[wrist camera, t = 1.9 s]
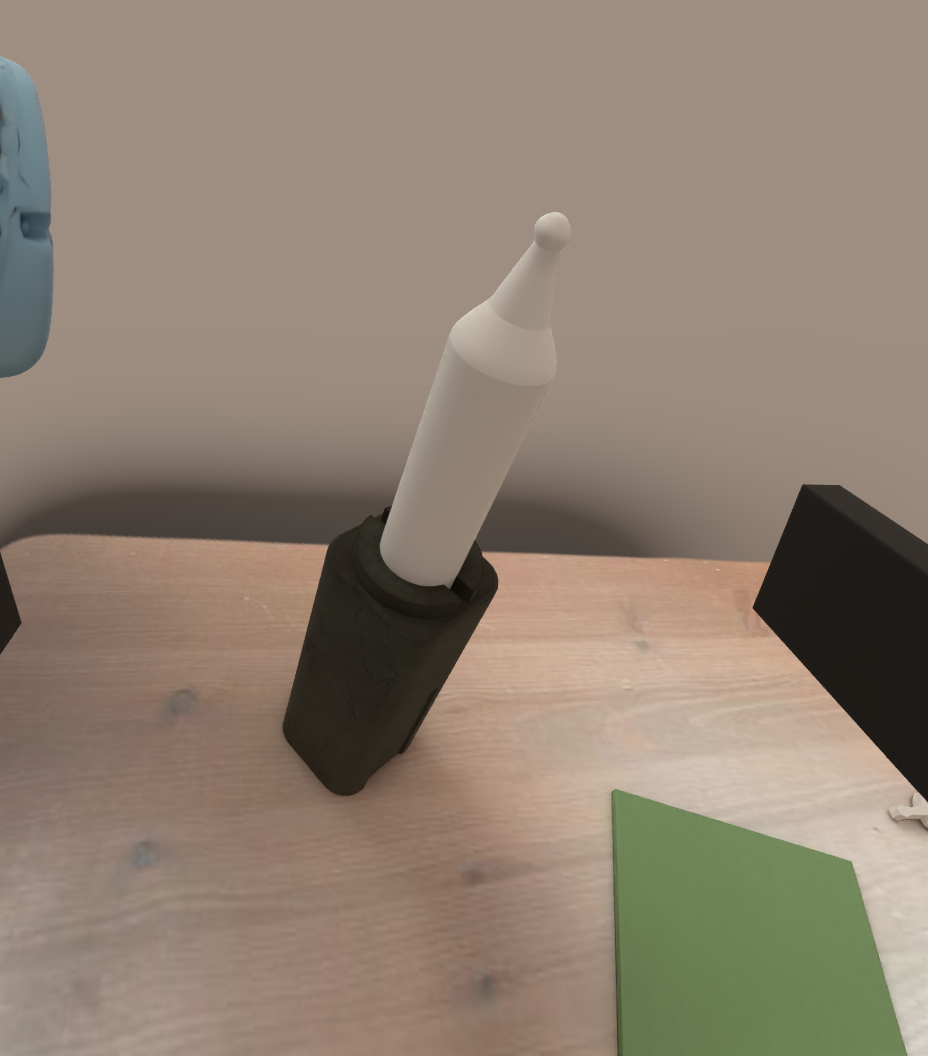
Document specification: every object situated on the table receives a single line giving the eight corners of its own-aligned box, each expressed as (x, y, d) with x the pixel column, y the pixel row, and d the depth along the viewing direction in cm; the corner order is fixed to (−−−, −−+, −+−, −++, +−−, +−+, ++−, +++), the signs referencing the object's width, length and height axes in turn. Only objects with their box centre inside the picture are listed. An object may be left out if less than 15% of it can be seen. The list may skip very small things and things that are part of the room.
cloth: (623, 1252, 21) (628, 1252, 21) (611, 791, 33) (615, 788, 33) (977, 1329, 23) (986, 1332, 23) (846, 863, 35) (851, 861, 34)
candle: (353, 666, 33) (538, 162, 17) (420, 738, 32) (699, 261, 15) (272, 723, 30) (401, 160, 13) (342, 806, 28) (590, 288, 12)
